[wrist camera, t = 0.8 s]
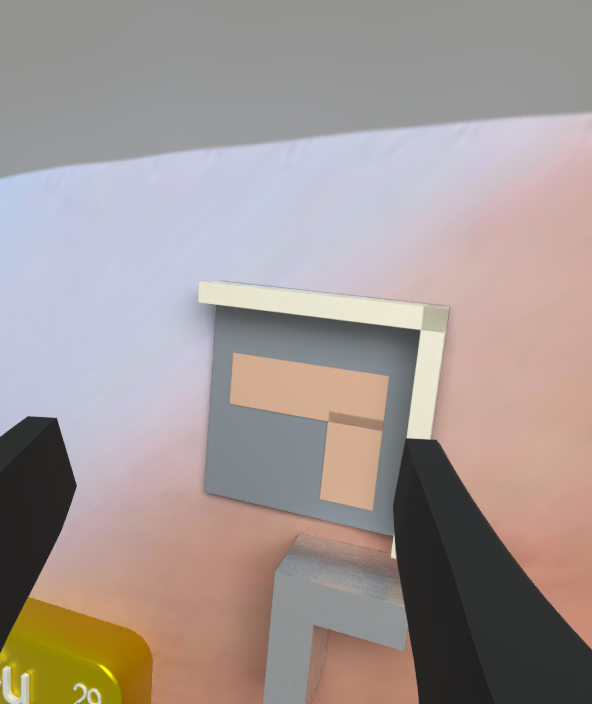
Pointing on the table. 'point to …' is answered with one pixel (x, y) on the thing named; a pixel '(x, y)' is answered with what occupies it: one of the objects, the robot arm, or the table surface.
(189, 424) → the table surface
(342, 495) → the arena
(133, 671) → the element tile
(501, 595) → the robot arm
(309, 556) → the bracket
